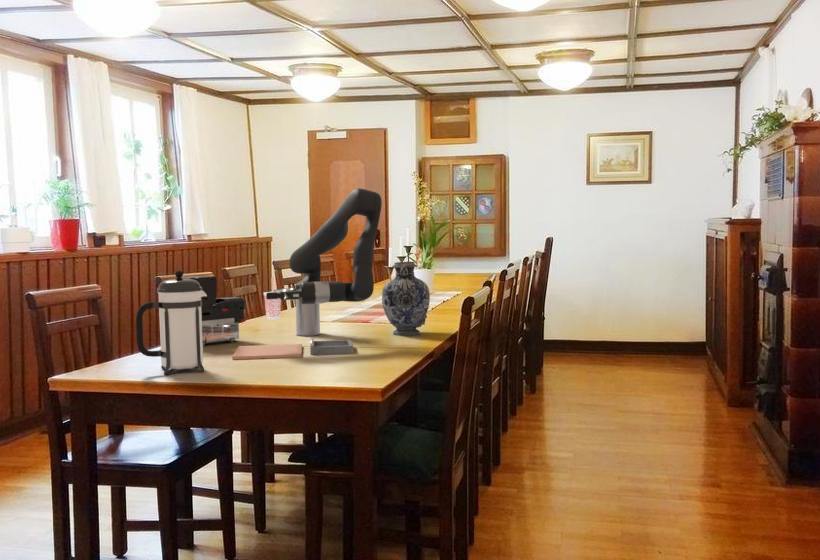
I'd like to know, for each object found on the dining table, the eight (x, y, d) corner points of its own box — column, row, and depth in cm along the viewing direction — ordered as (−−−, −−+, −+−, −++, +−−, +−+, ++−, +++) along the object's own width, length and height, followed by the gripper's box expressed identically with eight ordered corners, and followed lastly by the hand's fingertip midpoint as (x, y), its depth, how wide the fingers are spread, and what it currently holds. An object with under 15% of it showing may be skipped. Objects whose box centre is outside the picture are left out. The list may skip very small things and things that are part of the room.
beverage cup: (266, 320, 258) (264, 278, 257) (262, 318, 263) (260, 277, 262) (284, 319, 260) (283, 277, 259) (280, 317, 266) (278, 276, 265)
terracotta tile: (238, 349, 272) (238, 346, 272) (302, 346, 275) (302, 343, 275) (232, 359, 250) (232, 356, 250) (301, 357, 253) (301, 354, 253)
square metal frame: (310, 348, 271) (310, 337, 271) (350, 346, 273) (350, 336, 272) (310, 354, 257) (310, 343, 257) (352, 353, 259) (352, 342, 259)
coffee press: (179, 364, 243) (175, 268, 241) (218, 368, 236) (215, 269, 233) (136, 374, 228) (132, 272, 225) (177, 378, 220) (173, 273, 218)
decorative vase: (430, 337, 292) (428, 262, 290) (381, 338, 293) (378, 264, 291) (431, 329, 313) (429, 260, 312) (385, 330, 314) (382, 261, 312)
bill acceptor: (247, 341, 290) (245, 274, 288) (188, 348, 275) (186, 278, 273) (234, 338, 298) (232, 273, 296) (176, 345, 283) (174, 276, 281)
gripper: (310, 280, 272) (262, 282, 267) (318, 283, 258) (267, 285, 253) (311, 301, 273) (262, 304, 267) (319, 305, 259) (268, 308, 254)
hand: (265, 295), depth 260 cm, fingers closed on beverage cup, 6 cm apart
